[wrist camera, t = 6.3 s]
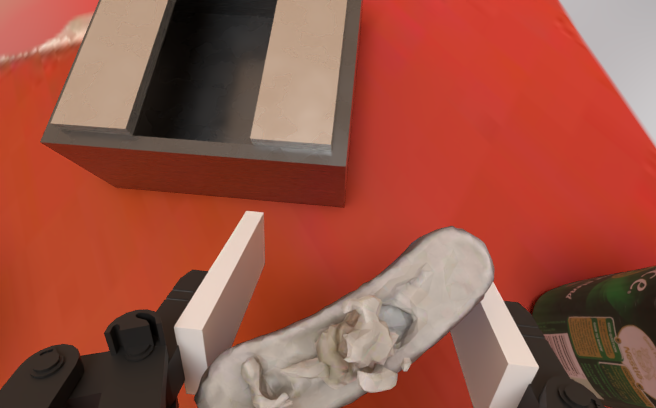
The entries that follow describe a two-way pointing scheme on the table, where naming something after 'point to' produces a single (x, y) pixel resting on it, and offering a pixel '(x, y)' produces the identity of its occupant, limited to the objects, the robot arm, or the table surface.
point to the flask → (357, 332)
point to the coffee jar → (606, 335)
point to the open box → (214, 98)
